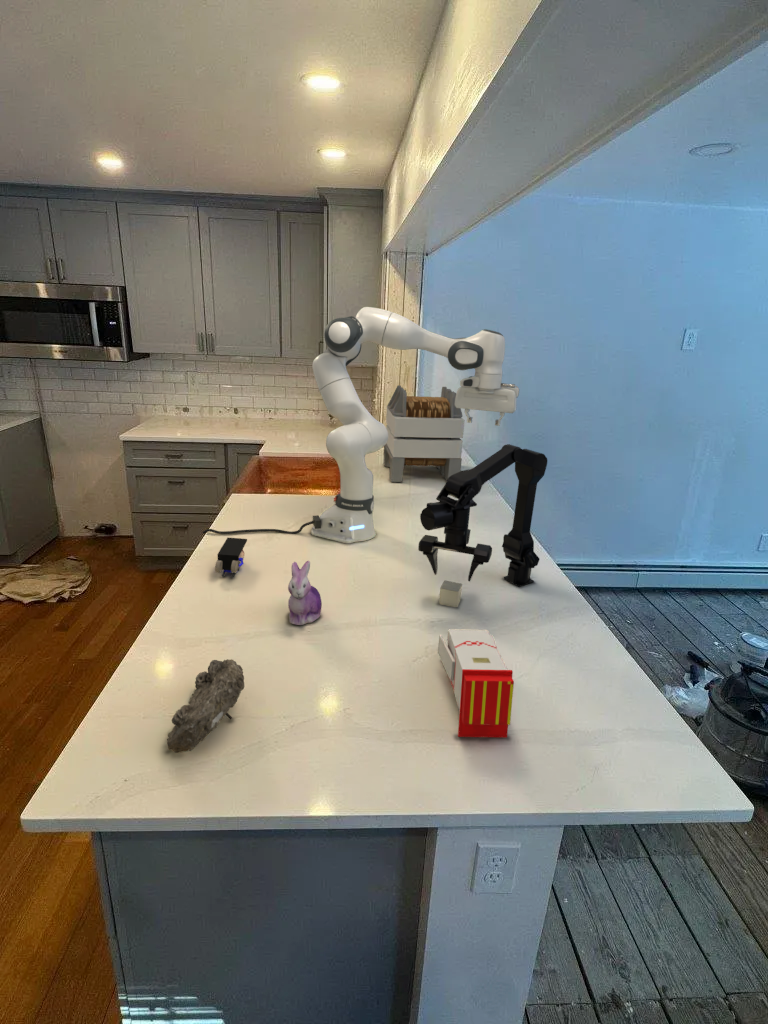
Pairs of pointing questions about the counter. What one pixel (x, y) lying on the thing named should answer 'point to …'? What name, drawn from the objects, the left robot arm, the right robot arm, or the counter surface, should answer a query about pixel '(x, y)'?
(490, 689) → the toy
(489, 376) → the left robot arm
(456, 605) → the beige cube
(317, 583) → the counter surface
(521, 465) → the right robot arm
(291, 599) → the figurine
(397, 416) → the transformer
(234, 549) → the figurine character
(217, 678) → the fossil
